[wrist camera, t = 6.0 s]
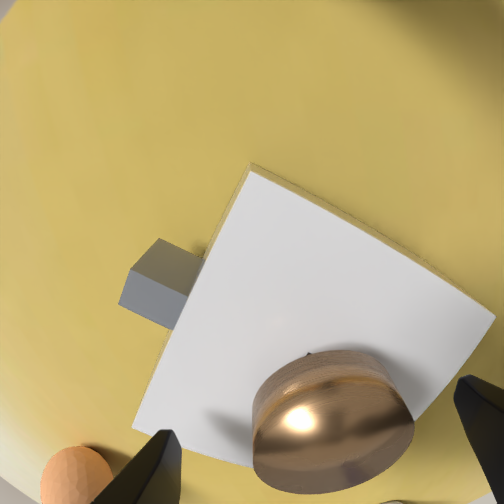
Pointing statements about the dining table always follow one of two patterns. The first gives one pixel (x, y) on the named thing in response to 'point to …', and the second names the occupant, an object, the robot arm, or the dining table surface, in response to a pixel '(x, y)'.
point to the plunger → (328, 423)
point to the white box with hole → (288, 312)
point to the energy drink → (392, 502)
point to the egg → (74, 476)
